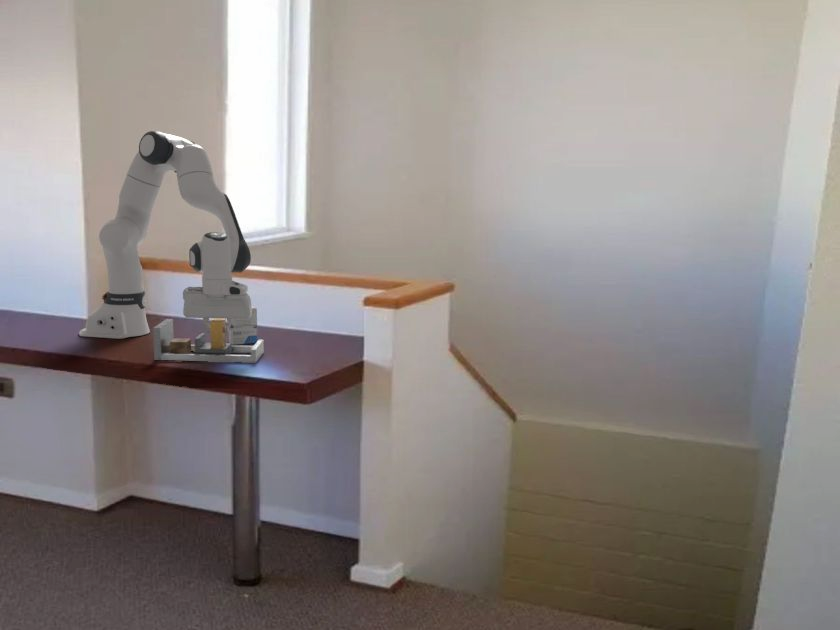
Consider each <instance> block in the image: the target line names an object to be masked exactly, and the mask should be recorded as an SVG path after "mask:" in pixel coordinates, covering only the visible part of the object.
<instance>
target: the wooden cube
mask: <svg viewBox="0 0 840 630" xmlns="http://www.w3.org/2000/svg"><path fill="white" fill-rule="evenodd" d="M191 345H192V340H191V338H179V337H178V338H175V337H174V339H173V340H172V341H170V354H192V352H191Z"/></svg>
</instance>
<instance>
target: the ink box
mask: <svg viewBox="0 0 840 630" xmlns="http://www.w3.org/2000/svg"><path fill="white" fill-rule="evenodd" d="M257 341H258V309H257V307H256V306H254V305H252V315H251V317H250V318H248V319H233V321H232V323H231V325H230V327H229V333H228V343H232V345H247V344H249V345H251V344H256V342H257Z"/></svg>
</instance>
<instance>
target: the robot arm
mask: <svg viewBox="0 0 840 630" xmlns="http://www.w3.org/2000/svg"><path fill="white" fill-rule="evenodd" d="M169 171H173V172H174V173H175V174H176V178H177V180H176V181H177V185H178V190H179V194H180V196H181V199H182V200H184V202H186V203H187V204H188V205H190V206H192V207H193V208H196V209H199V210H202V211H205V212H208V213H211V215H214V216H216V217H217V218H218V220H220V221H221V225H222V228H223V230H224V232H216V231H215V232H214V231H211V232H207V233H205V234H203V236H202V240H200V241H198V242H195V243H194V244H193V245H192V246H191V247H190V248H189V252H188V253H189V254H188V255H189V256H188V257H189V266H190V267H191V269H193V270H194V271H195V272H196V273H200V274H201V273H202V275H201V284H202V285H201V286H188V287H186V288H184V290H182V299H183V301H184V302H183V311H182V312H183V315H184V318H186V319H187V318H189V319H190V318H192V319H193V318H195V319H196V318H197V319H202V322H203V324H204V325H205V327H206V333H210V334H211V329H210V322H209V321H210V319H214V318H215V319H226V323H227V324H226V326H224V327H223V330H224V331H223V332H224V333H226V334H229V327H230V325H231V323H232V321H233V319H248V318H250V317H251V315H252V306H253V305H252V300H251V297H250V295H249V294H248V290H249V287H248V285H246V284H244V283H240V282H237V281H234V280H233V274H232V273H235V274H238V273H239V274H240V273H241V274H242V273H243V272H244V271H245V270H246V269H247V268H248V267H249V265H251V261H252V255H251V250H250V248H249V246H248V244H247V241H246V240H245V237H244V235H243V233H242V230H241V227H240V224H239V222H238V219H237V216H236V212H235V211H234V208H233V205H232V203H231V201H230V199H229V197H228V195H227V194H226V193H224V192H222V191H221V189H220V188H219V186H218V185H217V184H216V182H215V178H214V173H213V168H212V164H211V161H210V159H209V155H208V153H207V151H206V150H205V148H203V146H200V145H198V144H197V143H196V142H195V141H191V140H188V139H186V138H183V137H181V136H178V135H173V134H170V133H165V132H164V133H163V132H162V131H158V130H151V131H147V132H146V133H144V135H142V137H141V139H140V140H139V143H138V151H137V153H136V154H135V156H134V157H133V159H132V162H131V164H130V165H129V167H128V170H127V173H126V175H125V178H124V182H123V184H122V187H121V188H120V192H119V195H118V206H117V207H118V208H117V211H116V215H115V217H114V219H110V220H109V221H107V222H106V223H105V224H104V225H103V226H102V227H101V229H100V231H99V236H98V237H99V242H100V244H101V246H102V250H103V255H104V259H105V263H106V269H107V277H108V280H107V281H108V283H107V284H108V291H105V293H104V294H103V295H101V297H102V298H101V299H102V300H103V303H102V304H101V305H100V306H98V307H97V308H95V309H94V311H92V312H91V313H89V315H88V316H87V319H86V323H85V327H84V328H82V329H80V330H79V332H78V334H79V336H80V337H88V338H105V339H116V340H117V339H119V340H121V339H125V338H130V337H131V338H133V337H139V336H145V335H148V334H149V333H150V332H151V331H150V327H149V324H148V321H147V314H146V303H147V302H146V292H145V290H144V272H143V267H142V264H141V261H140V256H139V252H138V247H140V246H141V245H142V244H143V243H144V241H145V239H146V237H147V234H148V229H149V225H150V220H151V216H152V215H151V214H152V210H153V207H154V205H155V201H156V199H157V196H158V193H159V192H160V191H159V190H160V188H161V185H162V183H163V179H164V177H165V175H166V173H167V172H169Z"/></svg>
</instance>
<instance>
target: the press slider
mask: <svg viewBox="0 0 840 630" xmlns="http://www.w3.org/2000/svg"><path fill="white" fill-rule="evenodd" d="M209 324H210V329H211V333H210V342H206V333H205V332H202V333H200V334H198V335H197V336H196V337H195V338H194V345H195V352H194V354H222V355H232V343H229V342H227V333H224V332H223V331H224V330H223V327H224V326H227V318H212V319H211V321H210V322H209Z"/></svg>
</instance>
